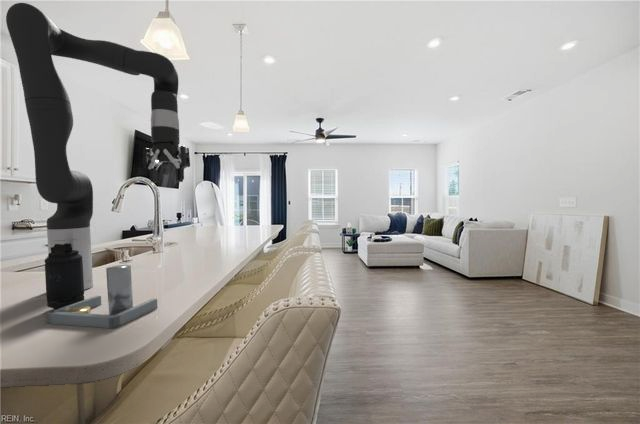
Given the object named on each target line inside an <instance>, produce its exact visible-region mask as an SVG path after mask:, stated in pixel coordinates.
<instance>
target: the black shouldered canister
mask: <svg viewBox="0 0 640 424" xmlns="http://www.w3.org/2000/svg"><path fill="white" fill-rule="evenodd" d="M78 253H79V251H78V250H72V247H71V243H65V244H55V245H54V247H51V253H49V254H48V253H47V255H48V256H47V257H48V258H47V259H46V258H45V259H44V275H45V291H46V292H45V294H46V301H47V302H46V306H47V307H48V308H51V309H54V310H56V309H59V308H62V307H65V306H68V305H71V304H74V303H77V302H80V301H83V300H85V290H84V278H83V260H82V255H80V254H78Z"/></svg>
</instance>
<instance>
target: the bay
mask: <svg viewBox="0 0 640 424" xmlns="http://www.w3.org/2000/svg"><path fill="white" fill-rule="evenodd" d="M101 305H102V296H101V295H95V296H92V297H89V298H86V299H84V300H83V301H80V302H77V303H74V304H71V305H68V306H65V307H62V308H59V309H56V310H55V309H54V310H50V311H48V312H45V313H44V319H45V321H44V322H45V324H52V325H64V326H75V327H76V326H79V327H90V328H102V329H117V328H119V327H121V326H123V325H126V324H127V323H129V322H132V321H133V320H135V319H137V318H139V317H141V316H144V315H145V314H147V313H149V312H152V311H153V310H156V309H157V308H158V299H157V298H151V299H148V300H146V301H144V302H142V303H139V304H138V305H135V306H133V307H132V308H130V309H128V310H125V311H123V312H121V313H119V314H116V315H109V314H101V313H100V314H99V313H97V314H96V313H91V314H86V313H71V312H67V311H68V310H70V309H73V308H77V307H82V306H88V307H90V309H93V308H96V307H98V306H101Z"/></svg>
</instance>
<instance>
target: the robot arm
mask: <svg viewBox="0 0 640 424" xmlns="http://www.w3.org/2000/svg"><path fill="white" fill-rule="evenodd" d="M5 23H6V28H7V30H8V34H9V37H10V39H11V42H12V46H13V50H14V52H15V55H16V59H17V63H18V70H19V74H20V75H19V76H20V80H21V85H22V90H23V96H24V103H25V108H26V109H25V110H26V114H27V119H28V121H29V127H30V132H31V133H30V134H31V139H32V140H31V141H32V145H33V155H34V168H35V169H34V171H35V172H34V173H35V185H36V188H37V192H38V194H39V195H40V197H41V198H42V199H43V200H45V201H46V202H48V203H52V204H56V205H57V206H56V211H55V212H54V214H53V215H51V216H49V217H48V218H47V219H46V235H47V252H48V253H47V255H48V254H49V253H51V247H54V245H55V244H65V243H71V247H72V250H78V251H79V253H78V254H80V255H82V260H83V278H84V291H85V290H87V289H90V288H93V286H94V280H93V276H94V275H93V259H92V258H93V257H92V241H91V240H92V239H91V220H92V218H93V216H94V214H93V213H94V191H93V190H94V189H93V184H92V182H91V180H90V178H89V177H88V176H87V175H86V174H85V173H83V172H80V171H76V170H71V169H70V165H69V160H68V155H67V146H68V141H69V139H70V137H71V133H72V130H73V127H74V116H73V111H72V110H73V109H72V105H71V100H70V97H69V94H68V92H67V89H66V87H65V85H64V83H63V81H62V79H61V77H60V75H59V73H58V71H57V69H56V67H55V63H54V61H53V57H52V56H56V57H62V58H68V59H72V60H79V61H83V62H87V63H92V64H95V65H99V66H103V67H106V68H109V69H112V70H114V71H118V72H121V73H124V74H128V75H131V76H139V75H145V76H148V77H151V78H152V79H153V91H152V93H151V96H150V105H151V106H150V107H151V108H150V109H151V110H150V111H151V113H150V114H151V115H150V132H151V133H150V135H151V138H150V139H151V143H152V144H153V145H152V148H149V147H148V148H147V147H143V148H142V150H143V151H142V167H143V168H145V169H148V171H149V180H150V182H151V183H156V184H157V183H158V182H159V170H158V169H159V167H160V166H161V165H162V164H163V163H172V164H173V165H174V166H175V168H176V169H175V181H176V183H182V182H183V181H184V180H185V169H186V168H190V167H191V160H190V159H191V158H190V148H189V147H187V146H185V145H180V143H181V142H180V121H179V119H180V118H179V112H178V109H179V108H178V107H179V106H178V93H179V74H178V71H177V69H176V68H175V67H176V66H175V65H174V63H173V62H172V61H171V59H169V58H168V57H167V56H166V55H165V56H164V55H163V54H160V53H158V52H152V51H145V50H137V49H134V48H131V47H128V46H125V45H122V44H119V43H117V42H113V41H108V40H101V39H96V40H95V39H88V38H87V39H86V38H82V37H79V36H76V35H73V34H72V33H69V32H67V31H65V30H63V29H61V28H59V27H58V26H57V25H56V24H55V22H54V21H52V20H51V18H49V17H48V16H47V15H46V14H45V13H44V12H43V11H42V10H41V9H39V8H37V7H36V6H34V5H32V4H30V3H27V2H17V3H13V4H12V5H11V6H10V7H9V8H8V10H7V12H6V16H5ZM179 145H180V146H179ZM179 154H180V155H179ZM179 156H180V157H179ZM183 183H184V182H183ZM47 258H48V256H47V257H45V259H47Z"/></svg>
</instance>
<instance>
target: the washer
mask: <svg viewBox="0 0 640 424" xmlns="http://www.w3.org/2000/svg"><path fill="white" fill-rule="evenodd" d="M67 312H71V313H86V314H92V312H91V308H90V307H88V306H82V307H77V308H73V309H70V310H68V311H67Z"/></svg>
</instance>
